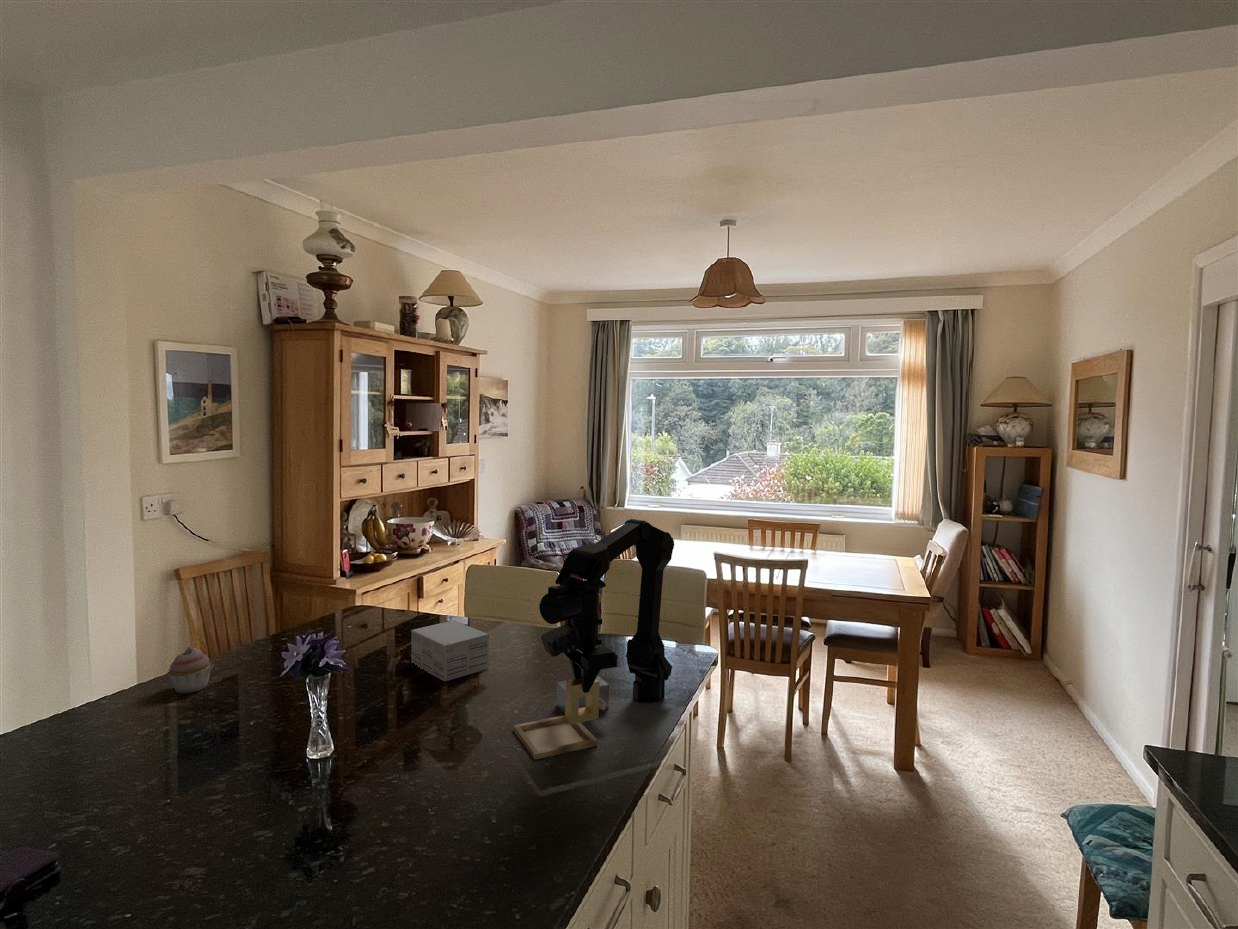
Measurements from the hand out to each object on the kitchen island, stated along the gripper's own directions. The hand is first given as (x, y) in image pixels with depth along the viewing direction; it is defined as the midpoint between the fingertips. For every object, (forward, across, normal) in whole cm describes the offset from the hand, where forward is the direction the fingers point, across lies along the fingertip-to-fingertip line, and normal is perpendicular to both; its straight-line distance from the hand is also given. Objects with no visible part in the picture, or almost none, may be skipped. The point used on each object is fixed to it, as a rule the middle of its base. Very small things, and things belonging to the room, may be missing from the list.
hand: (582, 689), depth 133 cm
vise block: (+11, -10, +6) cm, 16 cm away
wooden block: (+6, 0, 0) cm, 6 cm away
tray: (+11, -3, -5) cm, 12 cm away
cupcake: (+12, -63, -71) cm, 96 cm away
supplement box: (+11, -52, -14) cm, 55 cm away
